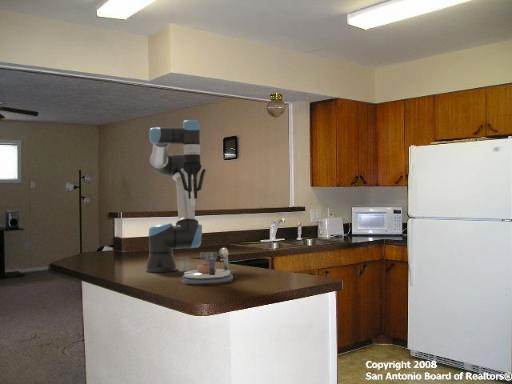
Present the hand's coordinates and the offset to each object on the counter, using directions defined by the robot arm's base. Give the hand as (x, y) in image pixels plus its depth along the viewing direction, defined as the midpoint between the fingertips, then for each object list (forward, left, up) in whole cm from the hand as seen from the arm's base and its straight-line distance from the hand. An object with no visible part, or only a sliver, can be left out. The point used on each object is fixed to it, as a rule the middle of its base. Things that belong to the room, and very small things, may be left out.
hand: (193, 206), depth 232 cm
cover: (+12, -5, -29) cm, 31 cm away
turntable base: (+12, -5, -32) cm, 35 cm away
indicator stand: (+12, +8, -32) cm, 35 cm away
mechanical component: (-2, +12, -33) cm, 35 cm away
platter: (+13, -4, -30) cm, 33 cm away
